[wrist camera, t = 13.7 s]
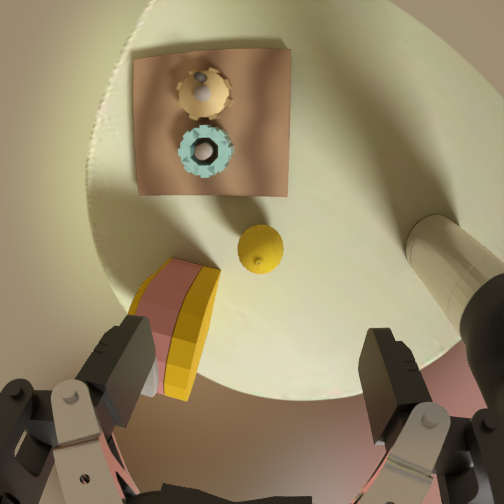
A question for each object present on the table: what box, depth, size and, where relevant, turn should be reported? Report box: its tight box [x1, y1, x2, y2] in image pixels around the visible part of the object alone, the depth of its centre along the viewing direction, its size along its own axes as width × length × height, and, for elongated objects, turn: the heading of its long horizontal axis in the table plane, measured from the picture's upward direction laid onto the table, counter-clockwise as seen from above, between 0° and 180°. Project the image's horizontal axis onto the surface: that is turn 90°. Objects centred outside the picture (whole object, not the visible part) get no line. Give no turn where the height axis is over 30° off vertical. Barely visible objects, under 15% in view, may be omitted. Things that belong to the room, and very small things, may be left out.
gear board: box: [133, 48, 291, 197], centre depth 33 cm, size 19×18×6 cm
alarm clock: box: [128, 257, 221, 401], centre depth 38 cm, size 15×8×18 cm, turn 167°
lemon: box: [238, 224, 284, 274], centre depth 38 cm, size 6×6×8 cm
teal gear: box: [178, 124, 234, 178], centre depth 34 cm, size 6×6×2 cm
